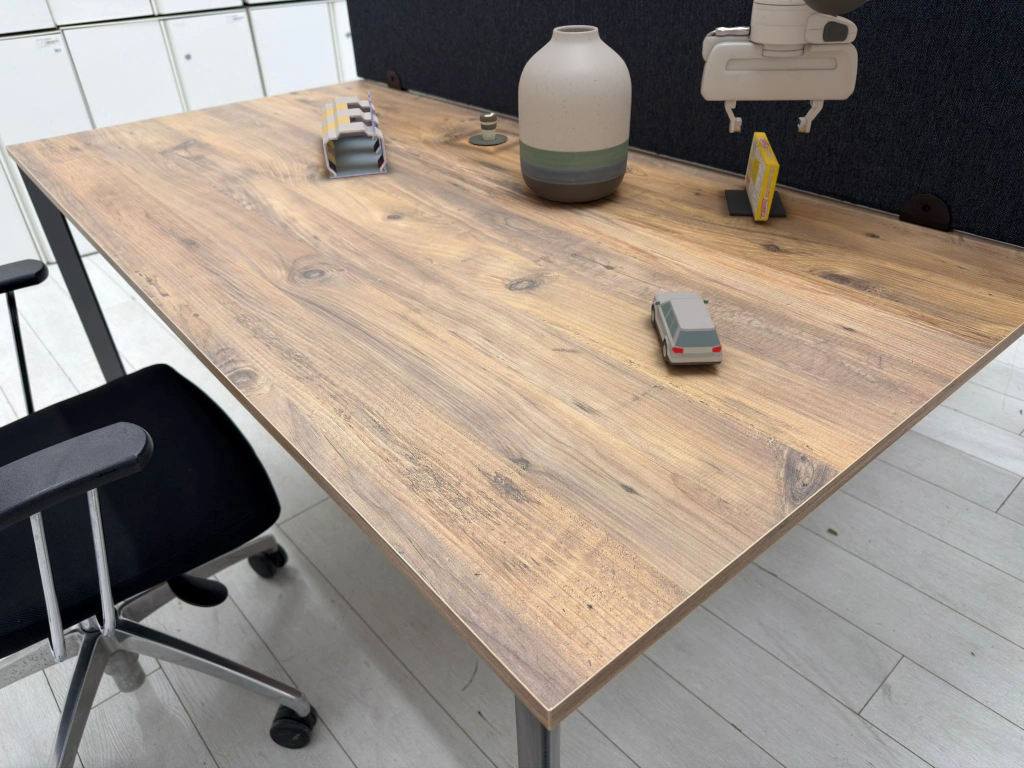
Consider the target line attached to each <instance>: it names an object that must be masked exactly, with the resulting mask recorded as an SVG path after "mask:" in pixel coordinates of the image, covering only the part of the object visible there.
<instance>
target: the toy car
mask: <svg viewBox="0 0 1024 768" xmlns="http://www.w3.org/2000/svg"><path fill="white" fill-rule="evenodd" d="M709 301H710V300H709V299H703V298H701V296H700V294H698V292H692V291H663V292H658V293H655V294H654V295H653V299H652V304H651V308H650V311H651V315H650V317H651V324H652V325H653V326H655V328H656V332H657V334H658V338H659V341H660V344H661V347H662V358H663V360H664V361H665V362H666V363H668V364H669V365H670V366H693V365H695V366H696V365H720V364H722V361H723V359H722V358H723V357H722V354H723V353H722V352H723V351H722V349H723V348H722V347H723V346H722V344H721V340H720V338H719V335H718V332H717V329H716V326H715V324H714V322H713V319H712V317H711V315H710V313H709V311H708V309H707V306H706V305H709Z"/></svg>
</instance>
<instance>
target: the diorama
mask: <svg viewBox="0 0 1024 768" xmlns="http://www.w3.org/2000/svg"><path fill="white" fill-rule="evenodd" d="M367 96H368V97H367V98H368V99H360V98H359V97H358V96H357V95H352V96H341V97H334V99H333V100H332V102H328V103H325V104H324V105H322V107H321V108H320V117H321V118H320V120H321V134H322V135H321V137H322V147H323V154H324V159H325V163H326V169H327V170H328V171H329V179H342V178H349V177H360V176H361V177H362V176H371V175H380V174H387V173H388V171H387V166H386V164H387V154H386V146H385V139H384V134H383V132H382V130H381V128H380V122H379V119H378V116H377V115H376V108H375V106H374V103H372V99H371V93H370V90H367Z"/></svg>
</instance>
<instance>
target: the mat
mask: <svg viewBox="0 0 1024 768" xmlns="http://www.w3.org/2000/svg"><path fill="white" fill-rule="evenodd" d="M724 194H725V195H724V196H725V198H726V199H725V200H726V203H727V209H728V212H729V216H738V217H739V216H740V217H754V215H753V211H752V208H751V204H750V201H749V198H748V194H747V190H746V189H724ZM787 216H788V214H787V211H786V208H785V207H784V203H783V201H782V199H781V196H780V194H779V191H778V190H774V194H773V199H772V203H771V207H770V212H769V216H768V218H771V217H772V218H775V217H776V218H787Z"/></svg>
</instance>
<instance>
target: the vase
mask: <svg viewBox="0 0 1024 768" xmlns="http://www.w3.org/2000/svg"><path fill="white" fill-rule="evenodd" d="M632 91H633V90H632V79H631V75H630V71H629V68H628V67H627V64H626V62H625V60H624V59H623V58H622V57H621V55H619V54H618V53H617V52H616V51H615V50H614V49H613V48H612V47H610V46H609V45H608V44H607V43H605V42H604V41H603V40H602V39H601V37H600V33H599V28H598V27H597V26H593V25H585V24H583V25H582V24H581V25H580V24H577V25H576V24H572V25H562V26H557V27H554V29H553V30H552V35H551V38H550V40H549V41H548V42H547V43H546V44H545V45H544V46H542V48H540V49H539V50H537V52H535V53H534V54H533V55H532V56H531V57H530V58H529V59H528V61H527V62H526V63H525V65H524V67H523V70H522V72H521V75H520V78H519V82H518V91H517V92H518V93H517V96H518V97H517V98H518V99H517V101H518V102H517V105H518V107H517V109H518V138H519V139H518V144H519V163H520V164H519V165H520V166H519V167H520V172H521V176H522V178H523V181H524V183H525V185H526V186H527V188H528V189H529V190H530V191H531V192H532V193H533V194H534V195H536V196H538V197H540V198H542V199H545V200H548V201H553V202H557V203H558V202H559V203H568V204H569V203H574V204H575V203H585V202H592V201H596V200H600V199H603V198H606V197H607V196H610V195H611V194H613V193H614V192H615V191H616V190H617V189H618V188H619V187H620V185H621V183H622V182H623V179H624V177H625V174H626V172H627V166H628V157H629V143H630V142H629V141H630V126H631V124H630V123H631V114H632V113H631V111H632Z"/></svg>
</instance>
